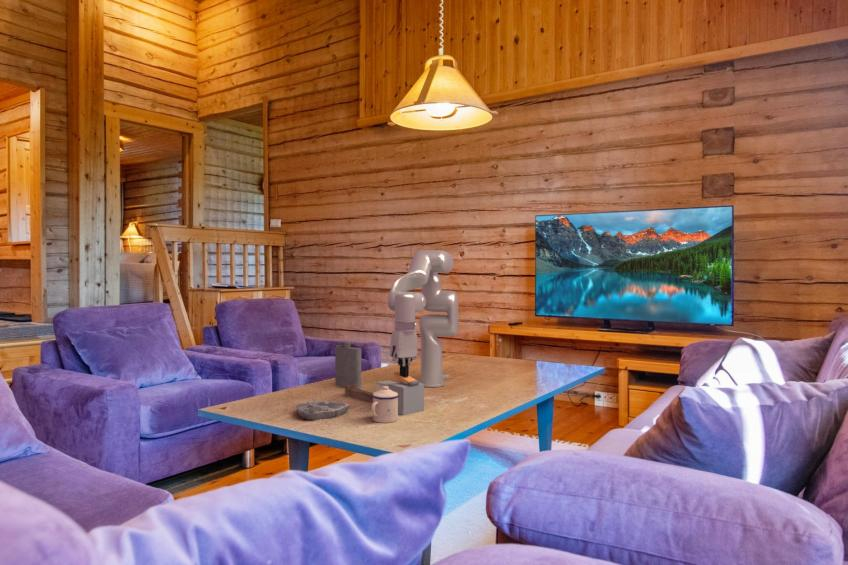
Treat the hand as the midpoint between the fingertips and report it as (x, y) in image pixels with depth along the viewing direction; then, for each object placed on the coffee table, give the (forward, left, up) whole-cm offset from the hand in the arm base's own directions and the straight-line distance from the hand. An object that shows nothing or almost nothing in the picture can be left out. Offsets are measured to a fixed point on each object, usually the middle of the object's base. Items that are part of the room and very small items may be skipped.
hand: (404, 376), depth 218 cm
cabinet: (0, +1, -13) cm, 13 cm away
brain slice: (+26, -17, -13) cm, 33 cm away
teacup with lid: (+15, +5, -13) cm, 20 cm away
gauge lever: (0, 0, -2) cm, 2 cm away
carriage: (0, -10, -13) cm, 16 cm away
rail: (0, -18, -13) cm, 22 cm away
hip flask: (-9, -48, -13) cm, 50 cm away
